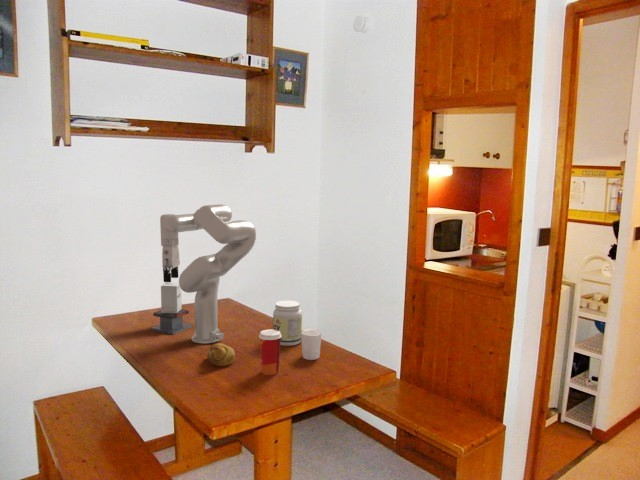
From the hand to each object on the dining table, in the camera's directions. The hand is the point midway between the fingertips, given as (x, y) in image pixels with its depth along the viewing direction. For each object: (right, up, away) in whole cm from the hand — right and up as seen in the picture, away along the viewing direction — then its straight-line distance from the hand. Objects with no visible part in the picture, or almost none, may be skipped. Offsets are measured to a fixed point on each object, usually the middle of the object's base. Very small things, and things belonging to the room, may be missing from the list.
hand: (171, 279), depth 235 cm
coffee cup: (+49, -30, -45) cm, 73 cm away
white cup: (+63, -28, -29) cm, 75 cm away
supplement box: (0, -15, +3) cm, 15 cm away
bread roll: (+29, -29, -36) cm, 54 cm away
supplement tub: (+53, -26, -12) cm, 60 cm away
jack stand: (-1, -23, +3) cm, 23 cm away
